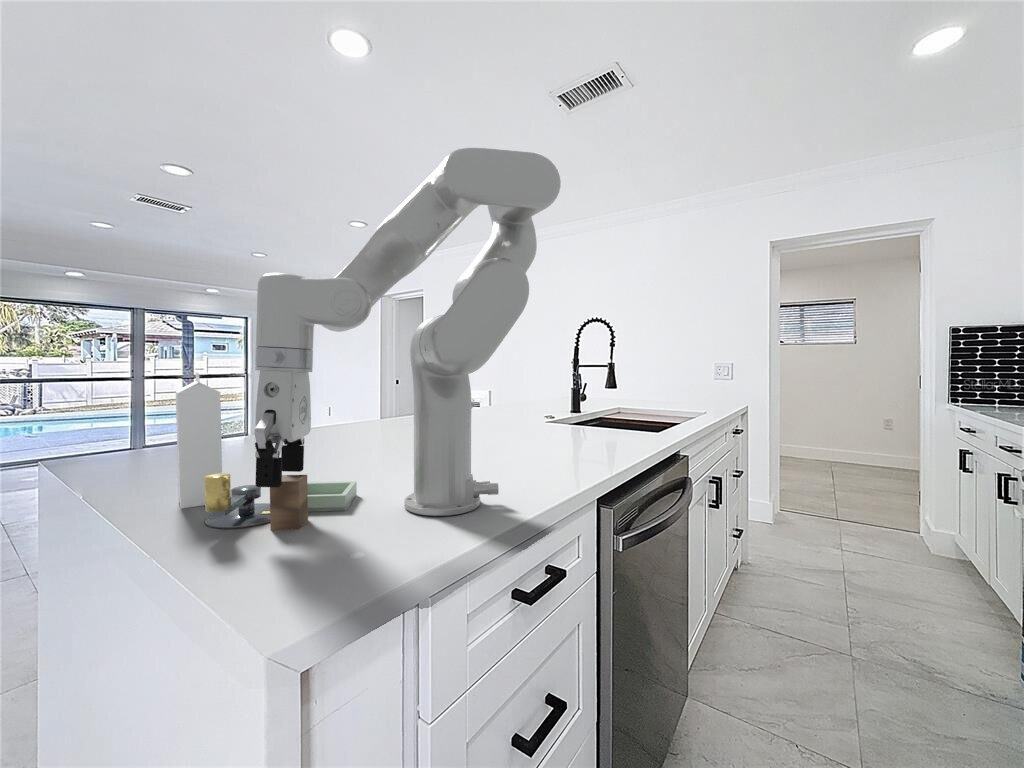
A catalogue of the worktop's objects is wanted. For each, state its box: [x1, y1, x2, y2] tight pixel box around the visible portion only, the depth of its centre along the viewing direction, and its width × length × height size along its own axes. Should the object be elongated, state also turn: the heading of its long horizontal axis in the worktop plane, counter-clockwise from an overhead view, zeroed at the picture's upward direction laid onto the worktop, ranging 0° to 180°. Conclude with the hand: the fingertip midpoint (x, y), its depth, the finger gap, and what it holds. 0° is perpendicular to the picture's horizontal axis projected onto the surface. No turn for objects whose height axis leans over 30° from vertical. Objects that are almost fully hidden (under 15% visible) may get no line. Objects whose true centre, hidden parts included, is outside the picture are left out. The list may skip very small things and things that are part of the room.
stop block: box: [269, 474, 309, 531], centre depth 72 cm, size 4×4×7 cm
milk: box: [175, 371, 223, 510], centre depth 82 cm, size 6×6×22 cm
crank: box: [204, 473, 262, 516], centre depth 71 cm, size 12×4×6 cm, turn 7°
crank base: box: [204, 499, 270, 530], centre depth 75 cm, size 11×11×3 cm
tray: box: [307, 480, 358, 513], centre depth 83 cm, size 9×9×2 cm
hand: (281, 478), depth 71 cm, fingers open, 9 cm apart
